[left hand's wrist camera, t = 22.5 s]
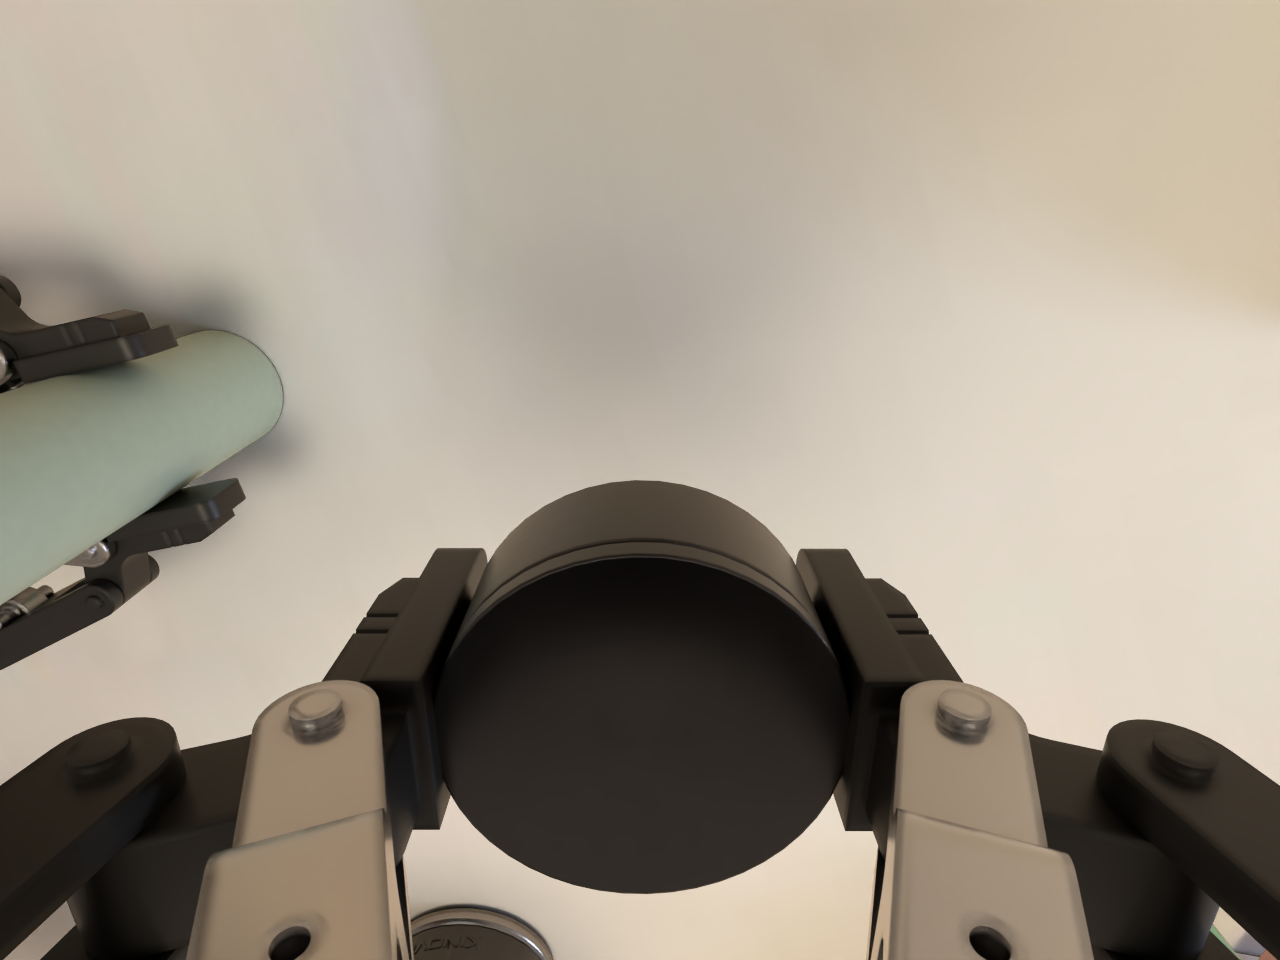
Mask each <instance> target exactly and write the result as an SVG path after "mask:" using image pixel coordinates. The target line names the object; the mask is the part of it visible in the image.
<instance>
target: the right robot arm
mask: <svg viewBox="0 0 1280 960" xmlns="http://www.w3.org/2000/svg"><path fill="white" fill-rule="evenodd" d="M20 304H21V296H20V293H19V291H18V289H17V287H16V286H15V285H14V283H13V282H11V281H10V280H9V279H7V278H6V277H4V276H1V275H0V394H1V393H4V392H7V391H11V390H14V389H17V388H20V387H23V386H27V385H30V384H32V383H33V382H37V381H41V380H46V379H49V378H53V377H58V376H64V375H68V374H73V373H77V372H82V371H86V370H91V369H95V368H100V367H105V366H109V365H114V364H118V363H123V362H127V361H131V360H135V359H139V358H143V357H146V356H150V355H153V354H156V353H159V352H162V351H165V350H168V349H171V348H174V347H177V346H179V345H178V343H177V340H176V338H175V336H174V334H173V331H172V329H171V327H170V325H169V324H168V325H163V326H159V327H154V328H150V327H149V324H148V322H147V320H146V318H145V316H144V314H143V313H142V312H136V311H130V310H122V311H117V312H113V313H108V314H104V315H99V316H95V317H91V318H86V319H82V320H77V321H73V322H69V323H64V324H60V325H55V326H46V325H42V324H39V323H37V322H35V321H33V320H32V319H31V318H29V317H28V316H27V315H26V314H25V313H24V312H23V311H22V310H21V309H20V308H19V307H20ZM245 498H246V497H245V494H244V492H243V490H242V488H241V485H240V483H239V481H238V479H236V478H233V479H228V480H223V481H218V482H213V483H208V484H203V485H198V486H193V487H188V488H183V489H180V490H178V491H177V492H175V493H174V494H172V495H171V496H169V497H168V498H166V499H164V500H163V501H161V502H160V503H158V504H157V505H155V506H154V507H152V508H150V509H149V510H147V511H146V512H144V513H143V514H141V515H140V516H138V517H137V518H135V519H133V520H132V521H130V522H129V523H127V524H126V525H124V526H123V527H121V528H119V529H118V530H116V531H115V532H113V533H112V534H110V535H109V536H107V537H105V538H104V539H102V540H101V541H99V542H98V543H96V544H95V545H93V546H92V547H90V548H88V549H87V550H85V551H84V552H82V553H81V554H79V555H78V556H76V557H74V558H73V559H71V560H70V561H68V562H67V563H65V564H64V565H74V566H83V567H84V572H85V578H83V579H81V580H79V581H77V582H75V583H73V584H72V585H70V586H68V587H66V588H64V589H62V590H60V591H58V592H56V593H54V591H53V589H52V588H51V587H49V586H46V585H43V586H41V587H39V588H38V589H35V588H32V587H28V588H26V589H25V590H23V591H22V592H20V593H19V594H17V595H16V596H14V597H12V598H11V599H9V600H8V601H6V602H5V603H3V604H2V605H0V670H2V669H4V668H6V667H8V666H10V665H12V664H14V663H16V662H18V661H20V660H22V659H24V658H26V657H28V656H30V655H32V654H34V653H36V652H38V651H40V650H42V649H43V648H45V647H47V646H49V645H51V644H53V643H55V642H57V641H59V640H61V639H63V638H65V637H67V636H69V635H71V634H73V633H75V632H77V631H79V630H81V629H83V628H85V627H87V626H89V625H91V624H93V623H95V622H97V621H99V620H101V619H103V618H105V617H107V616H109V615H110V614H112V613H113V612H114V611H115V610H117V609H118V608H119V607H120V606H122V605H123V604H124V603H125V602H127V601H128V600H129V599H130V598H132V597H133V596H134V595H136V594H137V593H138V592H139V591H141V590H142V589H143V588H144V587H146V586H147V585H148V584H149V583H151V582H152V581H153V580H154V579H156V578H157V576H158V575H159V566H158V564H157V562H156V561H155V559H154V558H152V557H151V556H150V555H148V552H149V551H154V550H160V549H165V548H170V547H173V546H174V547H175V546H180V545H183V544H190V543H195V542H200V541H202V540H203V539H205V538H206V537H208V536H209V535H210V534H212V533H213V532H214V531H216V530H217V529H218V528H220V527H221V526H222V525H223V524H225V523H226V522H227V521H228V520H230V519H231V518H232V517H233V516H235V514H234V512H233V510H232V509H233V508H234V507H236V506H237V505H238V504H239V503H241V502H242V501H243V500H245ZM411 933H412V944H413V955H414V960H552V957H551V954H550V952H549V950H548V948H547V946H546V945H545V943H544V942H543V941H542V940H541V938H540V937H539V936H538V935H537V934H536V933H534V932H533V931H532V930H531V929H529V928H528V927H527V926H525V925H523V924H522V923H520V922H518V921H516V920H514V919H512V918H510V917H507V916H505V915H502V914H499V913H495V912H491V911H487V910H481V909H471V908H457V909H447V910H441V911H437V912H433V913H430V914H427V915H424V916H422V917H420V918H417V919H416V920H414V921H412V922H411Z"/></svg>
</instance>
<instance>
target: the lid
mask: <svg viewBox="0 0 1280 960" xmlns="http://www.w3.org/2000/svg"><path fill="white" fill-rule="evenodd" d="M433 704H434V714H435V723H436V731H437V739H438V747H439V755H440V763H441V771H442V776H443V780H444V782H445V784H446V787H447V789H448V791H449V792H450V794H451V796H452V797H453V799H454V801H455V802H456V804H457V806H458V807H459V809H460V810H461V811H462V812H463V814H464V815H465V816H466V817H467V819H468V820H469V821H470V822H471V824H472V825H473V826H474V827H475V828H476V829H477V830H478V831H479V832H480V833H481V834H482V835H483V836H484V837H486V838H487V839H488V840H489V841H490V842H491V843H492V844H494V845H495V846H496V847H498V848H499V849H500V850H502V851H503V852H504V853H506V854H507V855H508V856H510V857H512V858H513V859H515V860H517V861H519V862H520V863H522V864H524V865H525V866H527V867H529V868H531V869H533V870H536V871H538V872H540V873H542V874H545V875H547V876H549V877H551V878H554V879H557V880H560V881H563V882H567V883H570V884H573V885H576V886H581V887H585V888H590V889H594V890H600V891H608V892H616V893H631V894H653V893H667V892H676V891H682V890H688V889H694V888H698V887H702V886H706V885H710V884H713V883H717V882H720V881H723V880H726V879H728V878H731V877H733V876H736V875H739V874H741V873H744V872H746V871H747V870H749V869H751V868H753V867H755V866H757V865H759V864H761V863H763V862H765V861H766V860H768V859H769V858H771V857H772V856H774V855H775V854H777V853H779V852H780V851H782V850H783V849H784V848H786V847H787V846H788V845H789V844H790V843H792V842H793V841H794V840H795V839H796V838H797V837H799V836H800V835H801V834H802V833H803V832H804V831H805V830H806V829H807V828H808V827H809V825H810V824H811V823H812V822H813V821H814V820H815V819H816V818H817V817H818V815H819V814H820V812H821V811H822V809H823V808H824V807H825V805H826V804H827V802H828V801H829V800H830V798H831V796H832V794H833V792H834V790H835V788H836V786H837V784H838V782H839V780H840V778H841V775H842V772H843V767H844V760H845V753H846V745H847V737H848V729H849V720H850V701H849V695H848V689H847V686H846V683H845V680H844V677H843V674H842V671H841V668H840V666H839V663H838V661H837V659H836V656H835V654H834V652H833V650H832V647H831V645H830V642H829V640H828V638H827V635H826V633H825V631H824V628H823V626H822V624H821V621H820V619H819V617H818V614H817V612H816V610H815V607H814V605H813V603H812V600H811V598H810V596H809V593H808V591H807V589H806V586H805V584H804V582H803V579H802V577H801V575H800V573H799V571H798V569H797V567H796V565H795V563H794V561H793V559H792V558H791V556H790V555H789V554H788V552H787V551H786V549H785V548H784V547H783V545H782V544H781V542H780V541H779V540H778V539H777V538H776V537H775V536H774V535H773V534H772V533H771V532H770V531H769V530H768V529H767V528H766V527H765V526H764V525H763V524H762V523H761V522H759V521H758V520H757V519H756V518H754V517H753V516H752V515H750V514H749V513H748V512H746V511H745V510H743V509H741V508H740V507H738V506H736V505H735V504H733V503H731V502H729V501H728V500H725V499H723V498H721V497H718V496H716V495H714V494H711V493H709V492H707V491H703V490H700V489H696V488H693V487H689V486H686V485H681V484H675V483H669V482H662V481H640V480H634V481H623V482H612V483H607V484H602V485H598V486H593V487H589V488H585V489H583V490H580V491H577V492H574V493H571V494H568V495H566V496H564V497H562V498H560V499H558V500H556V501H554V502H552V503H550V504H548V505H546V506H544V507H543V508H541V509H540V510H538V511H537V512H535V513H534V514H532V515H531V516H529V517H528V518H526V519H525V520H524V521H523V522H522V523H521V524H520V525H519V526H518V527H516V528H515V529H514V530H513V531H512V532H511V533H510V534H509V535H508V536H507V538H506V539H505V540H504V541H503V542H502V544H501V545H500V546H499V547H498V548H497V550H496V551H495V553H494V554H493V556H492V558H491V559H490V561H489V562H488V564H487V566H486V567H485V570H484V572H483V574H482V577H481V579H480V582H479V584H478V586H477V589H476V591H475V593H474V596H473V598H472V600H471V603H470V605H469V607H468V610H467V612H466V615H465V617H464V619H463V622H462V624H461V626H460V629H459V631H458V633H457V636H456V638H455V640H454V643H453V645H452V648H451V650H450V652H449V655H448V657H447V659H446V662H445V664H444V666H443V669H442V671H441V673H440V676H439V678H438V682H437V686H436V690H435V694H434V700H433Z"/></svg>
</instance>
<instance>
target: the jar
mask: <svg viewBox="0 0 1280 960" xmlns="http://www.w3.org/2000/svg"><path fill="white" fill-rule="evenodd" d="M176 340H177V343H178V345H179V346H177V347H174V348H171V349H168V350H165V351H162V352H159V353H156V354H153V355H150V356H146V357H143V358H139V359H135V360H131V361H127V362H123V363H118V364H114V365H109V366H105V367H100V368H95V369H91V370H86V371H82V372H77V373H73V374H68V375H64V376H58V377H53V378H49V379H46V380H43V381H39V382H36V383H33V384H30V385H27V386H23V387H20V388H17V389H14V390H11V391H7V392H4V393H1V394H0V605H2V604H3V603H5V602H6V601H8V600H9V599H11V598H12V597H14V596H16V595H17V594H19V593H20V592H22V591H23V590H25V589H26V588H28V587H29V586H31V585H33V584H34V583H36V582H37V581H39V580H40V579H42V578H43V577H45V576H47V575H48V574H50V573H51V572H53V571H54V570H56V569H57V568H59V567H61V566H62V565H64V564H65V563H67V562H68V561H70V560H71V559H73V558H74V557H76V556H78V555H79V554H81V553H82V552H84V551H85V550H87V549H88V548H90V547H92V546H93V545H95V544H96V543H98V542H99V541H101V540H102V539H104V538H105V537H107V536H109V535H110V534H112V533H113V532H115V531H116V530H118V529H119V528H121V527H123V526H124V525H126V524H127V523H129V522H130V521H132V520H133V519H135V518H137V517H138V516H140V515H141V514H143V513H144V512H146V511H147V510H149V509H150V508H152V507H154V506H155V505H157V504H158V503H160V502H161V501H163V500H164V499H166V498H168V497H169V496H171V495H172V494H174V493H175V492H177V491H178V490H180V489H182V488H183V487H185V486H186V485H188V484H189V483H191V482H192V481H194V480H195V479H197V478H199V477H200V476H202V475H203V474H205V473H206V472H208V471H209V470H211V469H213V468H214V467H216V466H217V465H219V464H220V463H222V462H223V461H225V460H226V459H228V458H230V457H231V456H233V455H234V454H236V453H237V452H239V451H240V450H242V449H244V448H245V447H247V446H248V445H250V444H251V443H253V442H254V441H256V440H258V439H259V438H261V437H262V436H264V435H265V434H266V433H268V432H269V431H270V430H271V429H272V428H273V427H274V425H275V424H276V422H277V420H278V418H279V416H280V413H281V410H282V404H283V392H282V386H281V382H280V379H279V376H278V374H277V372H276V370H275V368H274V366H273V365H272V363H271V362H270V361H269V359H268V358H267V357H266V356H265V355H264V353H263V352H261V351H260V350H259V349H258V348H257V347H256V346H254V345H253V344H252V343H250V342H249V341H247V340H245V339H243V338H242V337H239V336H237V335H235V334H231V333H228V332H224V331H217V330H207V331H200V332H196V333H192V334H189V335H186V336H183V337H180V338H177V339H176Z"/></svg>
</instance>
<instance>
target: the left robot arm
mask: <svg viewBox="0 0 1280 960" xmlns="http://www.w3.org/2000/svg"><path fill="white" fill-rule="evenodd" d="M487 564H488V563H487V556H486V553H485V550H484V549H483V548H438V549H436V550H435V552H434V554H433V555H432V557H431V559H430V560H429V562H428V564H427V566H426V567H425V569H424V571H423V572H422V574H421V576H420V578H402V579H401V580H399V581H398V582H396V583H395V584H394V585H392V586H391V587H389V588H388V589H386V590H385V591H383V592H382V593H380V594H379V595H378V597H377V599H376V600H375V602H374V603H373V605H372V606H371V608H370V609H369V611H368V612H367V617H364V618H363V620H362V621H361V623H360V624H359V626H358V627H357V629H356V634H353V635H352V636H351V638H350V639H349V641H348V642H347V644H346V646H345V647H344V649H343V650H342V652H341V653H340V655H339V656H338V658H337V659H336V661H335V662H334V664H333V665H332V667H331V668H330V670H329V671H328V673H327V674H326V676H325V677H324V679H323V680H322V682H318V683H314V684H310V685H307V686H304V687H301V688H298V689H296V690H294V691H291V692H289V693H287V694H286V695H284V696H282V697H280V698H279V699H277V700H276V701H274V702H273V703H272V704H270V705H269V706H268V707H267V708H266V709H265V710H264V711H263V712H262V713H261V714H260V716H259V717H258V718H257V720H256V722H255V724H254V727H253V730H252V734H251V735H248V736H244V737H240V738H236V739H231V740H227V741H222V742H217V743H212V744H208V745H203V746H198V747H194V748H189V749H184V750H180V747H179V744H178V740H177V737H176V733H175V731H174V729H173V727H172V726H171V725H170V724H169V723H167V722H165V721H163V720H159V719H156V718H147V717H140V718H128V719H122V720H117V721H112V722H109V723H105V724H102V725H99V726H96V727H93V728H91V729H88V730H85V731H83V732H81V733H79V734H77V735H74V736H73V737H71V738H69V739H67V740H65V741H63V742H62V743H60V744H59V745H57V746H56V747H54V748H52V749H51V750H50V751H48V752H47V753H45V754H44V755H43V756H41V757H40V758H38V759H37V760H36V761H34V762H33V763H31V764H30V765H29V766H27V767H26V768H24V769H23V770H22V771H20V772H19V773H17V774H16V775H15V776H13V777H12V778H10V779H9V780H8V781H6V782H5V783H3V784H2V785H1V786H0V960H3V959H4V958H5V957H6V956H7V955H9V954H10V953H11V952H12V951H13V950H14V949H15V948H16V947H17V946H18V945H19V944H20V943H21V942H22V941H24V940H25V939H26V938H27V937H28V936H29V935H30V934H31V933H32V932H33V931H34V930H35V929H36V928H38V927H39V926H40V925H41V924H42V923H43V922H44V921H45V920H46V919H47V918H48V917H49V916H50V915H51V914H53V913H54V912H55V911H56V910H57V909H58V908H59V907H60V906H61V905H62V904H63V903H64V902H65V901H67V903H68V905H69V908H70V910H71V913H72V916H73V918H74V921H75V923H76V925H75V926H74V927H73V928H72V929H71V930H70V931H69V932H68V933H67V934H66V935H65V936H64V937H63V938H62V939H61V940H60V941H59V942H58V943H57V944H56V945H55V946H54V947H53V948H52V949H51V950H50V951H49V952H48V953H47V954H46V955H45V956H44V957H43V958H41V959H40V960H414V955H413V944H412V933H411V922H410V911H409V901H408V890H407V879H406V869H405V863H404V857H403V854H404V852H405V849H406V846H407V843H408V841H409V838H410V835H411V832H412V830H440V827H441V824H442V821H443V817H444V814H445V811H446V808H447V805H448V802H449V798H450V795H451V794H450V792H449V791H448V789H447V787H446V784H445V782H444V780H443V776H442V771H441V763H440V755H439V747H438V739H437V731H436V723H435V714H434V704H433V700H434V694H435V690H436V686H437V682H438V678H439V676H440V673H441V671H442V669H443V666H444V664H445V662H446V659H447V657H448V655H449V652H450V650H451V648H452V645H453V643H454V640H455V638H456V636H457V633H458V631H459V629H460V626H461V624H462V622H463V619H464V617H465V615H466V612H467V610H468V607H469V605H470V603H471V600H472V598H473V596H474V593H475V591H476V589H477V586H478V584H479V582H480V579H481V577H482V574H483V572H484V570H485V567H486V566H487ZM796 567H797V569H798V571H799V573H800V575H801V577H802V579H803V582H804V584H805V586H806V589H807V591H808V593H809V596H810V598H811V600H812V603H813V605H814V607H815V610H816V612H817V614H818V617H819V619H820V621H821V624H822V626H823V628H824V631H825V633H826V635H827V638H828V640H829V642H830V645H831V647H832V650H833V652H834V654H835V656H836V659H837V661H838V663H839V666H840V668H841V671H842V674H843V677H844V680H845V683H846V686H847V689H848V695H849V701H850V720H849V729H848V737H847V745H846V753H845V760H844V767H843V772H842V775H841V778H840V780H839V782H838V784H837V786H836V788H835V790H834V792H833V794H834V797H835V800H836V804H837V807H838V810H839V813H840V816H841V819H842V822H843V825H844V828H845V831H873V833H874V835H875V838H876V841H877V843H878V850H877V857H876V863H875V869H874V879H873V890H872V901H871V912H870V922H869V933H868V944H867V955H866V960H1240V959H1239V958H1238V957H1236V956H1235V955H1234V954H1233V953H1232V952H1231V951H1230V950H1229V949H1228V948H1227V947H1226V946H1225V945H1224V944H1223V943H1222V942H1221V941H1220V940H1219V939H1218V938H1217V937H1216V936H1215V935H1214V934H1213V933H1212V932H1211V931H1210V929H1211V926H1212V924H1213V921H1214V919H1215V916H1216V914H1217V911H1218V909H1219V906H1220V907H1221V908H1222V909H1223V910H1224V911H1225V912H1226V913H1227V914H1229V915H1230V916H1231V917H1232V918H1233V919H1234V920H1235V921H1236V922H1237V923H1238V924H1239V925H1240V926H1241V927H1243V928H1244V929H1245V930H1246V931H1247V932H1248V933H1249V934H1250V935H1251V936H1252V937H1253V938H1254V939H1255V940H1256V941H1258V942H1259V943H1260V944H1261V945H1262V946H1263V947H1264V948H1265V949H1266V950H1267V951H1268V952H1269V953H1270V954H1272V955H1273V956H1274V957H1275V958H1276V959H1277V960H1280V786H1279V785H1278V784H1277V783H1275V782H1274V781H1272V780H1271V779H1270V778H1268V777H1267V776H1265V775H1264V774H1263V773H1261V772H1260V771H1258V770H1257V769H1256V768H1254V767H1253V766H1251V765H1250V764H1249V763H1247V762H1246V761H1244V760H1243V759H1242V758H1240V757H1239V756H1237V755H1236V754H1235V753H1233V752H1232V751H1230V750H1229V749H1227V748H1226V747H1224V746H1223V745H1221V744H1219V743H1217V742H1216V741H1214V740H1212V739H1210V738H1208V737H1206V736H1204V735H1202V734H1199V733H1197V732H1195V731H1192V730H1189V729H1187V728H1184V727H1181V726H1177V725H1174V724H1170V723H1165V722H1161V721H1154V720H1128V721H1124V722H1120V723H1118V724H1116V725H1115V726H1113V727H1112V728H1111V729H1110V730H1109V732H1108V735H1107V738H1106V741H1105V745H1104V748H1103V751H1100V750H1096V749H1091V748H1086V747H1081V746H1077V745H1072V744H1067V743H1063V742H1058V741H1053V740H1049V739H1045V738H1041V737H1037V736H1034V735H1031V734H1029V733H1028V730H1027V727H1026V724H1025V722H1024V720H1023V718H1022V717H1021V716H1020V714H1019V713H1018V712H1017V711H1016V710H1015V709H1014V708H1013V707H1012V706H1011V705H1010V704H1008V703H1007V702H1006V701H1004V700H1003V699H1001V698H1000V697H998V696H996V695H994V694H993V693H991V692H989V691H986V690H984V689H982V688H979V687H976V686H973V685H970V684H966V683H964V682H963V681H962V679H961V678H960V676H959V675H958V673H957V672H956V670H955V669H954V667H953V666H952V664H951V663H950V661H949V660H948V658H947V657H946V656H945V654H944V653H943V651H942V650H941V648H940V647H939V645H938V644H937V642H936V641H935V639H934V638H933V636H932V635H929V630H928V629H927V627H926V626H925V624H924V623H923V621H922V620H921V618H918V614H917V612H916V611H915V609H914V608H913V606H912V605H911V603H910V602H909V600H908V599H907V597H906V596H905V595H904V594H903V593H901V592H900V591H898V590H897V589H895V588H894V587H893V586H891V585H890V584H888V583H887V582H885V581H884V580H882V579H865V578H864V576H863V574H862V573H861V571H860V569H859V568H858V566H857V564H856V562H855V561H854V559H853V557H852V556H851V554H850V552H849V551H848V550H847V549H800V551H799V553H798V556H797V561H796Z"/></svg>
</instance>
